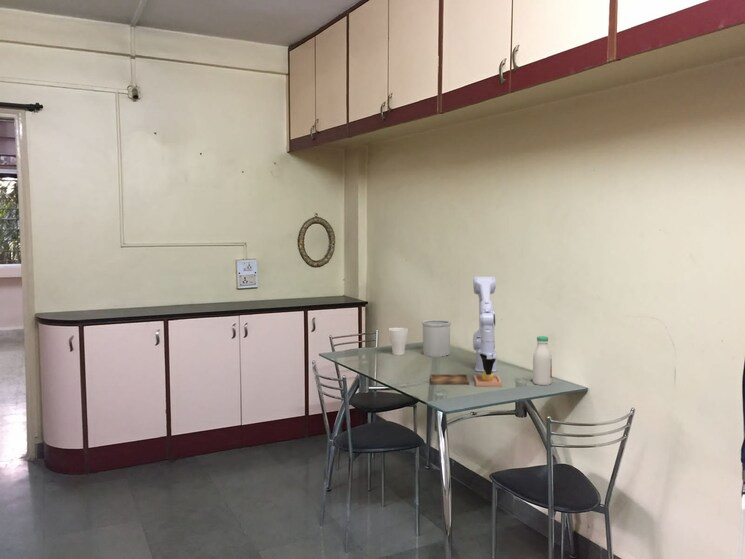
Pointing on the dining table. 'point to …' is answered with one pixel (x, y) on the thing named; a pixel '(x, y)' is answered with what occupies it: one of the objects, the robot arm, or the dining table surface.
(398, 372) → the dining table surface
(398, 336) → the cup
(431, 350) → the utensil holder
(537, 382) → the milk bottle
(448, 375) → the tray
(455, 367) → the dining table surface
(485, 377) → the ball
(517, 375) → the dining table surface
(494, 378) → the dish
